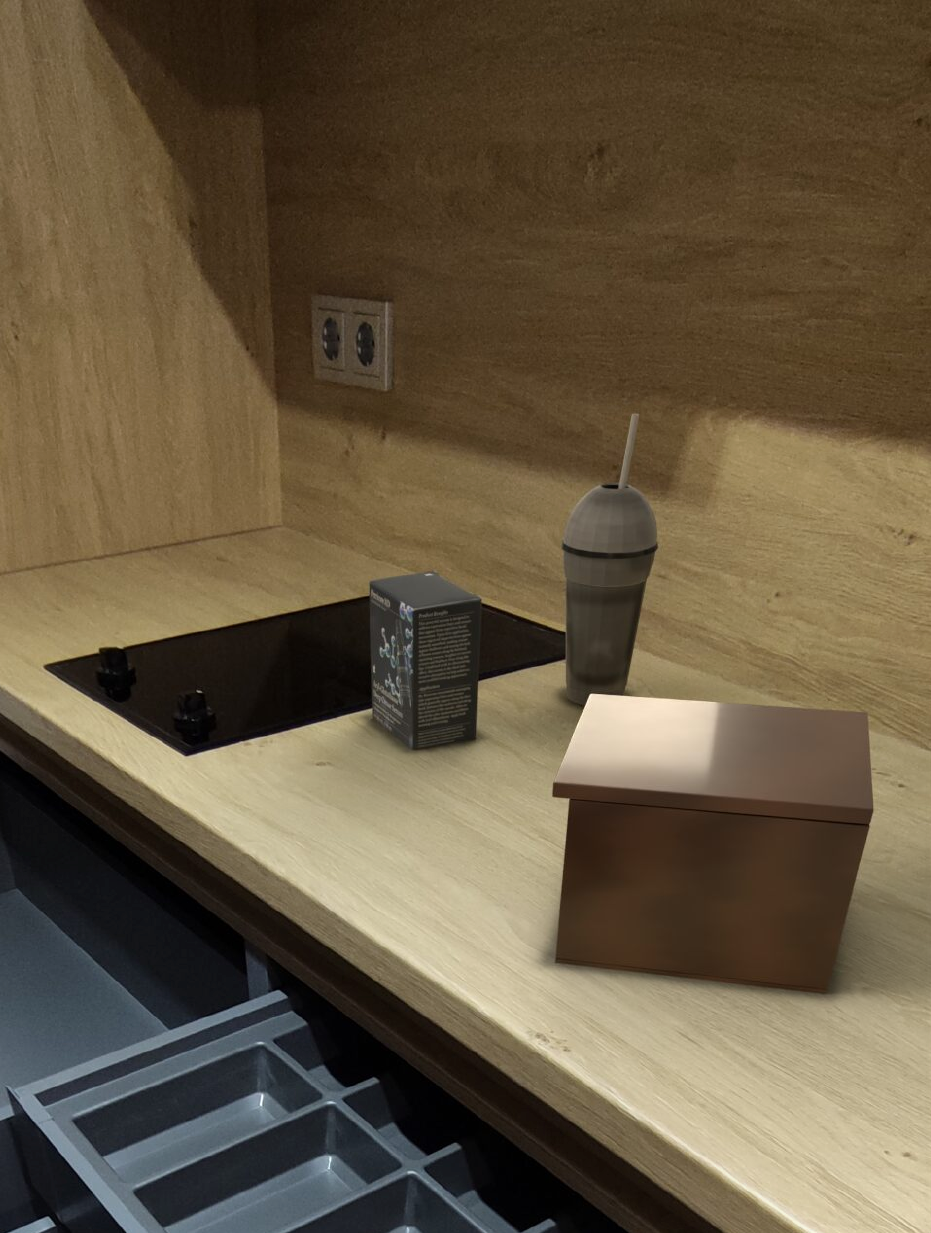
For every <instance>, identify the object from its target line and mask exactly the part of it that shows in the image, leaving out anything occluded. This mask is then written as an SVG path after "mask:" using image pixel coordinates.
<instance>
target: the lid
mask: <svg viewBox="0 0 931 1233" xmlns="http://www.w3.org/2000/svg"><path fill="white" fill-rule="evenodd" d="M868 715H869V714H868V712H867V711H853V710H837V709H825V708H823V709H822V708H808V707H792V706H781V705H779V706H778V705H764V704H750V703H749V704H748V703H734V702H721V701H705V700H704V701H703V700H690V699H689V700H688V699H675V698H662V697H661V698H659V697H645V696H631V695H630V696H629V695H623V696H617V695H602V694H590V696H589V698H588V701H587V703H586V705H584V708H583V710H582V713H581V715H580V717H579V720H578V722H577V725H576V726H575V728H574V729H575V730H574V731H573V734H572V737H571V739H570V742H569V744H568V746H567V749H566V751H565V754H564V755H563V758H562V761H561V763H560V765H559V767H558V770H557V773H556V775H555V778H554V780H553V782H552V790H551V797H552V798H554V799H555V798H557V799H567V800H568V799H569V800H570V799H578V800H590V801H601V802H613V803H625V804H636V805H648V806H660V807H671V808H683V809H695V810H707V811H718V812H730V813H742V814H753V815H765V816H777V817H788V818H800V819H812V820H823V821H835V822H847V823H858V824H869V825H870V824H871V822H872V818H873V814H874V811H875V810H874V809H875V807H874V794H873V792H874V791H873V777H872V776H873V775H872V759H871V747H870V746H871V745H870V744H871V742H870V728H869V716H868Z"/></svg>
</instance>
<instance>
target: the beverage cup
mask: <svg viewBox="0 0 931 1233" xmlns="http://www.w3.org/2000/svg"><path fill="white" fill-rule="evenodd" d="M639 418H640V414H639V413H632V414H631V418H630V424H629V427H628V428H629V429H628V433H627V438H626V439H627V440H626V445H625V450H624V456H623V460H622V467H621V470H620V472H621V473H620V477H619V482H607V483H603V484H600V485H598V486H595V487H594V488H592V489H590V490H589V491H588V492H587V493H586V494H585V495H584V496H582V497H581V498H580V499H579V500H578V502H577V503H576V504H575V505H574V507H573V509H572V511H571V513H570V515H569V517H568V520H567V522H566V525H565V529H564V534H563V539H562V541H561V545H560V546H561V550H562V563H563V573H564V577H565V685H566V686H565V687H566V697H567V699H568V700H570V702H573V703H575V704H579V705H582V706H585V705H586V703H587V701H588V698H589V696H590V694H602V695H617V696H625V690H626V687H627V685H628V679H629V674H630V670H631V664H632V659H633V655H634V649H635V644H636V640H637V639H636V638H637V633H638V628H639V622H640V618H641V613H642V608H643V603H644V597H645V592H646V587H647V581H648V579H649V577H650V575H651V571H652V569H653V565H654V561H655V556H656V555H655V554H656V552H657V551H658V549H659V543H658V528H657V527H658V526H657V521H656V516H655V513H654V511H653V508H652V506H651V505H650V502H649V501H648V499H647V498H646V497H645V495H644V494H643V493H642V492H641V491H640V490H638V489H637V488H636V487H635V486H634V487H633V486H632V485H631V484H627V483H628V477H629V471H630V466H631V462H632V456H633V451H634V445H635V439H636V435H637V429H638V422H639Z"/></svg>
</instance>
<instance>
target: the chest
mask: <svg viewBox="0 0 931 1233" xmlns="http://www.w3.org/2000/svg"><path fill="white" fill-rule="evenodd" d="M870 828H871V827H870V824H858V823H847V822H835V821H823V820H812V819H800V818H788V817H777V816H765V815H753V814H742V813H730V812H718V811H707V810H695V809H683V808H671V807H660V806H648V805H636V804H625V803H613V802H601V801H590V800H578V799H569V800H568V811H567V821H566V831H565V832H566V833H565V841H564V842H565V844H564V853H563V854H564V855H563V865H562V878H561V886H560V889H561V890H560V898H559V899H560V900H559V910H558V911H559V912H558V922H557V933H556V946H555V956H554V963H555V964H562V965H570V966H578V967H589V968H596V969H603V970H613V971H621V972H631V973H639V974H648V975H656V976H665V977H674V978H681V979H682V978H683V979H692V980H699V981H706V982H707V981H709V982H717V983H724V984H726V983H727V984H734V985H742V986H751V987H761V988H767V989H768V988H769V989H777V990H786V991H795V992H804V993H810V994H811V993H812V994H813V993H814V994H820V995H827V993H828V989H829V985H830V982H831V978H832V974H833V971H834V966H835V963H836V958H837V954H838V950H839V946H840V942H841V939H842V935H843V932H844V928H845V924H846V919H847V916H848V911H849V908H850V904H851V901H852V896H853V892H854V890H855V885H856V882H857V877H858V874H859V870H860V865H861V862H862V858H863V853H864V850H865V846H866V843H867V839H868V835H869V830H870Z"/></svg>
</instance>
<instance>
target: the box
mask: <svg viewBox="0 0 931 1233" xmlns="http://www.w3.org/2000/svg"><path fill="white" fill-rule="evenodd" d="M482 602H483V600H482V597H480V596H479V595H477V594H476V593H472V592H470V591H469V590H467V589H465V588H463V587H461V586H459V585H457V584H456V583H453V582H452V581H451V580H448V579H446V578H444V576H442V575H440V574H439V573H438V572H436V571H435V570H429V571H424V572H417V573H410V574H403V575H396V576H388V577H383V578H378V579H373V580H370V581H369V629H370V631H369V633H370V670H371V672H370V673H371V713H372V714H371V719H372V720H373V721H374V722H376V724H378V725H380V726H381V727H382V728H384V729H385V730H386V731H388V733H390V734H391V735H392V736H394V737H395V738H396V739H397V740H399V741H400V742H402V743H403V744H404V745H405V746H406V747H407V748H408V749H410V751H419V750H424V749H429V748H434V747H440V746H445V745H451V744H457V743H461V742H468V741H473V740H476V739H477V728H478V727H477V726H478V704H479V703H478V699H479V673H480V650H481V649H480V648H481V626H482V625H481V624H482V623H481V622H482Z"/></svg>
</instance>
